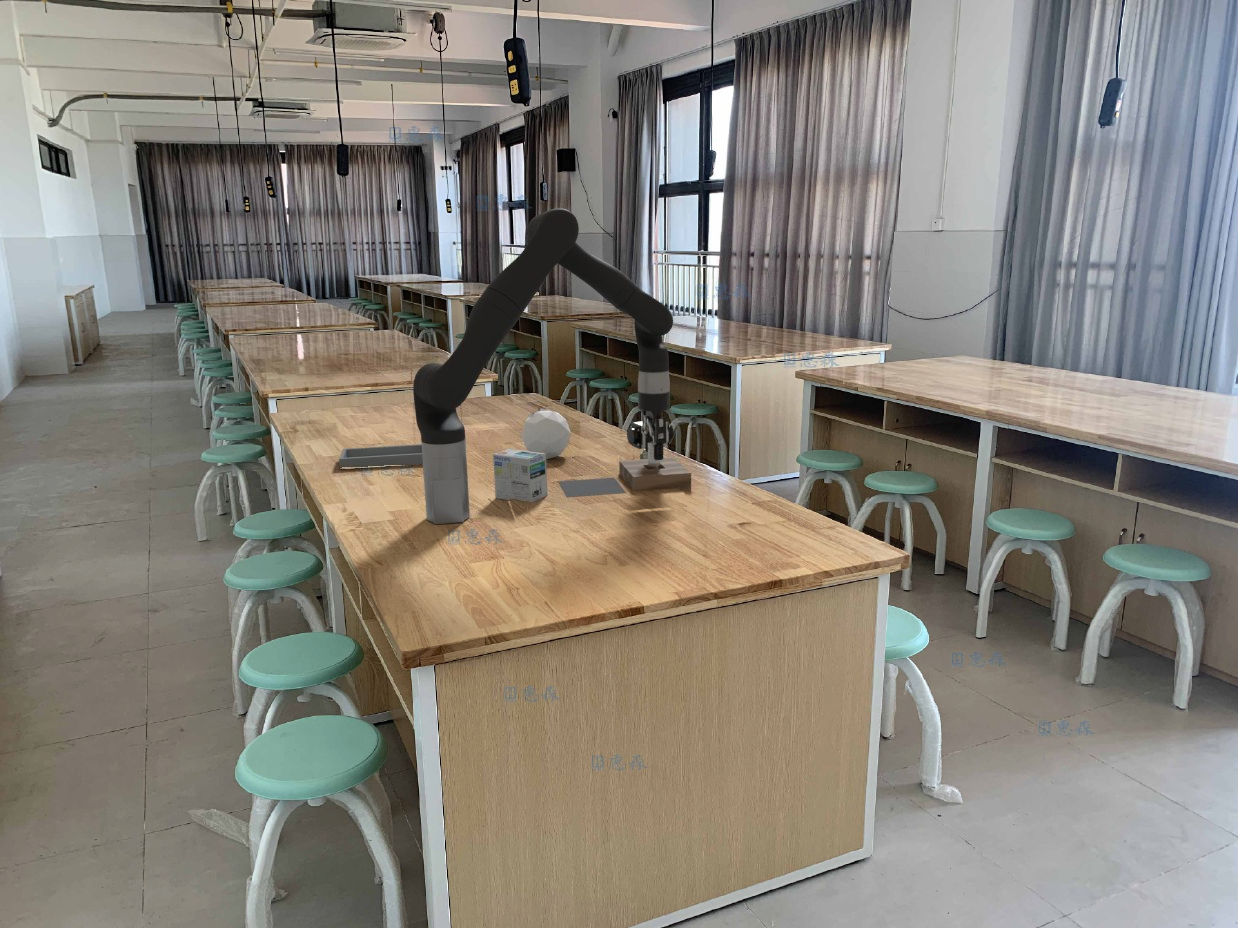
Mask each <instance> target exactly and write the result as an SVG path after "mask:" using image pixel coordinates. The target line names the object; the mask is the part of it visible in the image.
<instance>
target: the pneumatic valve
mask: <svg viewBox="0 0 1238 928" xmlns="http://www.w3.org/2000/svg"><path fill="white" fill-rule="evenodd" d="M630 423H631V424H630V427H629V428H628V429H627V431H626V437H627V438H626V440H627V441H628V444H629V445H631V446H632V447H634V448H636V449H638V450H641V453H640V454H639V459H648V452H646V451H645V436H644V433H643V432H642V421H636V422H630ZM674 434H675V433H674V428H673V425H672V424H671V423H670V422H669V421H667V420H666V439H667V442H666V443H664V444H663V447H666V446H668V447H669V446H670V443H671V440H673V439H674ZM658 439H661V437H660V436H658Z"/></svg>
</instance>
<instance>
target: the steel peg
mask: <svg viewBox="0 0 1238 928" xmlns="http://www.w3.org/2000/svg"><path fill="white" fill-rule="evenodd" d="M649 469H660V460H655V459H654V444H653V441H652V442H648V470H649Z"/></svg>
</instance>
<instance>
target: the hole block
mask: <svg viewBox="0 0 1238 928" xmlns="http://www.w3.org/2000/svg"><path fill="white" fill-rule="evenodd" d="M618 467H619V469H618V470H619V473H618V474H619V475H620V477H621V478H622V479H623V481H624V482H625V483H626V484H627V485H628V487H629V488H630V489H631V490H632V491H633V492H642V491H653V490H656V491H657V490H665V489H666V490H667V489H668V490H669V489H680V491H683V490H684V491H685V490H686V491H687V490H692V472H691V471H690V470H689V469H688V468H687V467H685V466H684V465H683V464H681V463H680V462H679V461H678V460H677V459H676V458H674V457H673V456H672V457H663V460H660V469H649V470H648V459H640V458H639V459H626V460H619V461H618Z"/></svg>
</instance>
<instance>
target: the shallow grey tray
mask: <svg viewBox="0 0 1238 928" xmlns="http://www.w3.org/2000/svg"><path fill="white" fill-rule="evenodd" d="M338 460H339V469H340V468H342V467H368V466H384V465H413V466H421V465H420V464H423V459H422V444H421V443H419V444H416V443H415V444H403V445H401V444H400V445H388V446H387V445H386V446H368V447H367V446H366V447H351V448H350V447H348V448H342V450H341V453H340V456H339V457H338Z"/></svg>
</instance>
